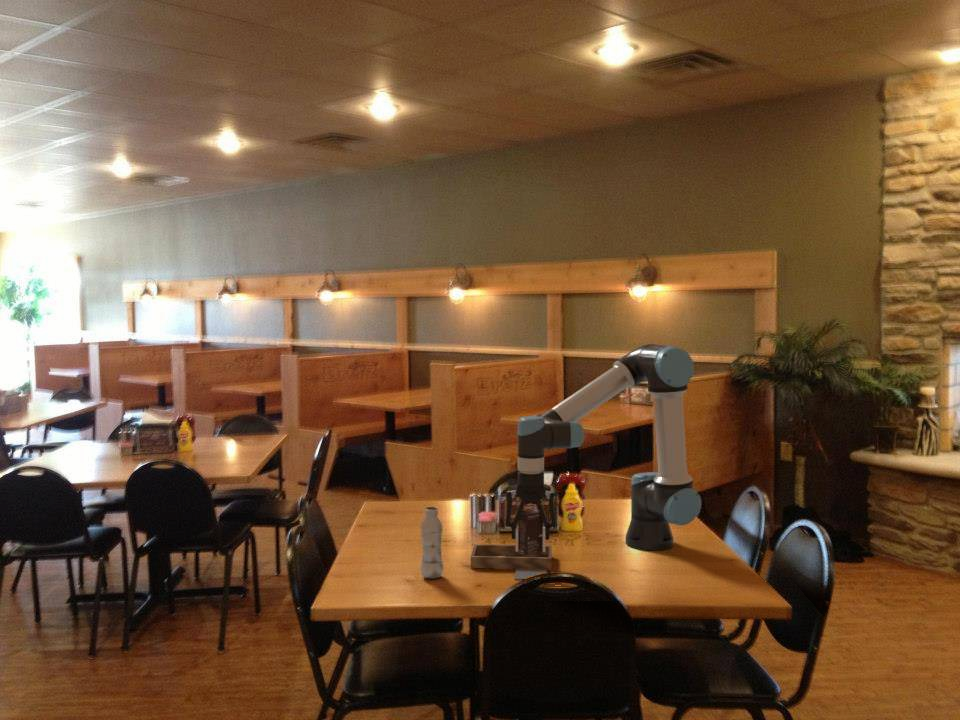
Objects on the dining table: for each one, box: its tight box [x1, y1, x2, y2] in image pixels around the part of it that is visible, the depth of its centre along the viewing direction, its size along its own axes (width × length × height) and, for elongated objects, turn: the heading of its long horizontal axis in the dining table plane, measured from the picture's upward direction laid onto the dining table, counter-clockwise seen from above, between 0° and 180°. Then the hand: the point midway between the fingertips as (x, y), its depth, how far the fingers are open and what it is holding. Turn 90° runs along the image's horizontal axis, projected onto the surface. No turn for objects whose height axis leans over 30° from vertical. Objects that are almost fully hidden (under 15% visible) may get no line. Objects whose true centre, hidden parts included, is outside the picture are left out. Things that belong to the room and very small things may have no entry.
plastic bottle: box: [420, 506, 444, 580], centre depth 247 cm, size 6×7×20 cm
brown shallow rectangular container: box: [470, 543, 553, 571], centre depth 260 cm, size 24×13×4 cm, turn 85°
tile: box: [514, 568, 548, 581], centre depth 249 cm, size 9×9×1 cm
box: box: [517, 508, 544, 555], centre depth 248 cm, size 6×4×12 cm
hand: (530, 550), depth 248 cm, fingers closed on box, 7 cm apart
